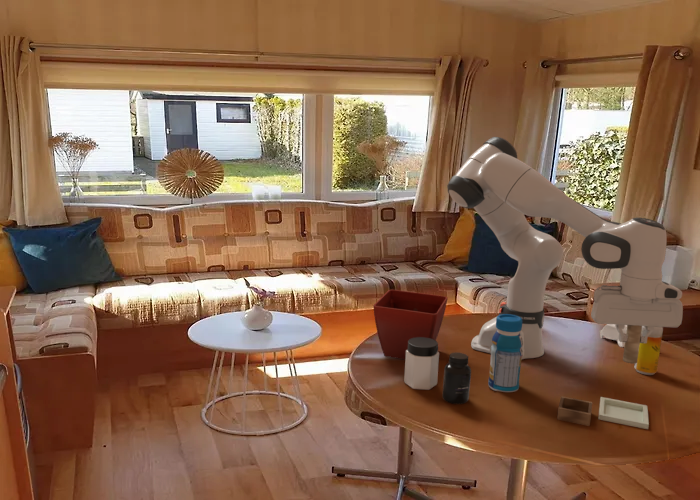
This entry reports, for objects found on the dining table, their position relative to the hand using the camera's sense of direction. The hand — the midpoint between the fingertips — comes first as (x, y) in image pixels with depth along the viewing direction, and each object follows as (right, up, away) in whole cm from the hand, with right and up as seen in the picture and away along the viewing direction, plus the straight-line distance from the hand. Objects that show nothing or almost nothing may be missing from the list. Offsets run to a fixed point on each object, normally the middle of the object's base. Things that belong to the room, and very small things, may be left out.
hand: (632, 341), depth 150 cm
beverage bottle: (-27, -15, +19) cm, 36 cm away
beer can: (+19, -14, +33) cm, 40 cm away
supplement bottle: (-41, -17, +11) cm, 46 cm away
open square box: (-13, -19, +3) cm, 23 cm away
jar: (-49, -15, +20) cm, 55 cm away
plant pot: (-50, -10, +42) cm, 66 cm away
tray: (0, -19, +4) cm, 20 cm away
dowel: (0, -5, +1) cm, 5 cm away
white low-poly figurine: (+22, -9, +57) cm, 61 cm away
